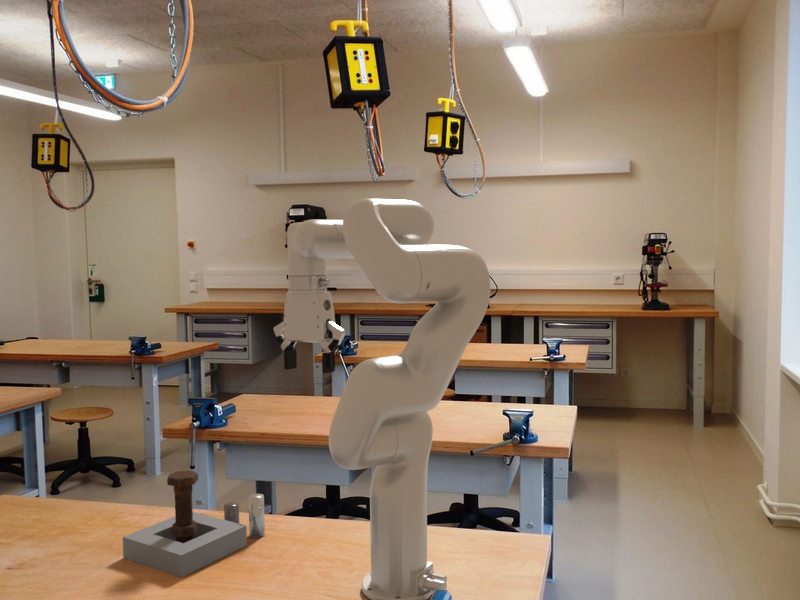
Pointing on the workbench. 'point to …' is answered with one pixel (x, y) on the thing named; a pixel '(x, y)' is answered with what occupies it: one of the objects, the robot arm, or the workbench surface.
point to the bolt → (183, 505)
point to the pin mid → (256, 515)
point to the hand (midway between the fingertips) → (309, 370)
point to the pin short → (231, 512)
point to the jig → (184, 545)
